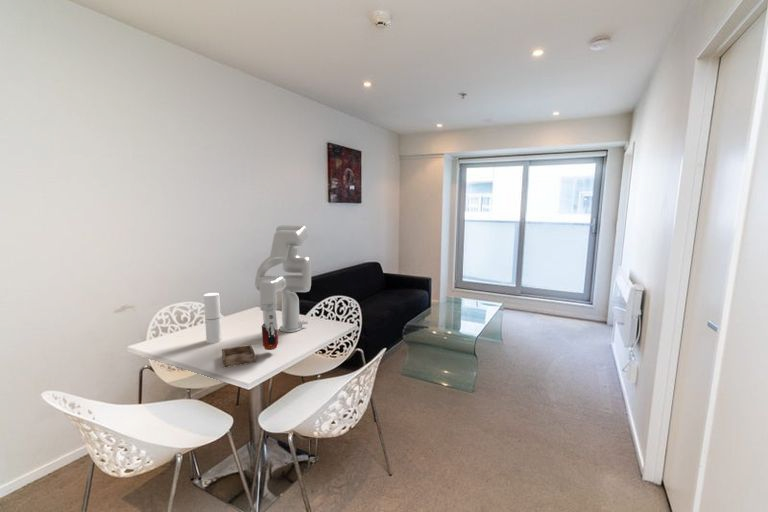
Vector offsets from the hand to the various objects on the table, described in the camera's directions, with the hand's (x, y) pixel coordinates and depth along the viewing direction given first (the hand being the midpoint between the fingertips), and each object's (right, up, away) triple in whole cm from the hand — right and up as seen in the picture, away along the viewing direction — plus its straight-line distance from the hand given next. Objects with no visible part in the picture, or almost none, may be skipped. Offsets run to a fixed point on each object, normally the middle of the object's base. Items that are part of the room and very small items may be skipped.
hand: (270, 340), depth 163 cm
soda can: (0, -4, +1) cm, 4 cm away
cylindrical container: (-35, -4, +15) cm, 38 cm away
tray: (-13, -7, -6) cm, 16 cm away
